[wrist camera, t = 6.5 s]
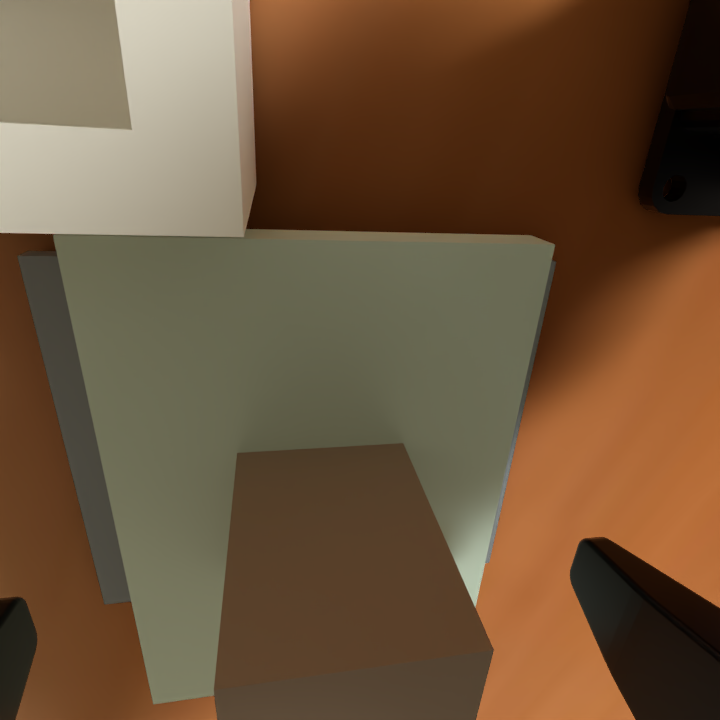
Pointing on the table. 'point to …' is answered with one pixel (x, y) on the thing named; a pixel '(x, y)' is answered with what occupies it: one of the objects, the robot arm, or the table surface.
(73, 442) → the mat
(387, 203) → the table surface
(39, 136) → the caddy
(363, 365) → the lid
